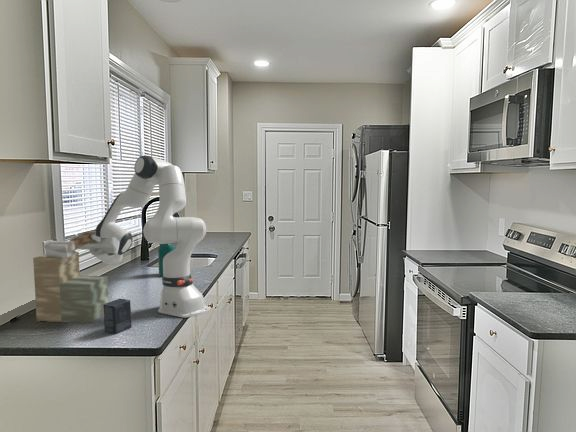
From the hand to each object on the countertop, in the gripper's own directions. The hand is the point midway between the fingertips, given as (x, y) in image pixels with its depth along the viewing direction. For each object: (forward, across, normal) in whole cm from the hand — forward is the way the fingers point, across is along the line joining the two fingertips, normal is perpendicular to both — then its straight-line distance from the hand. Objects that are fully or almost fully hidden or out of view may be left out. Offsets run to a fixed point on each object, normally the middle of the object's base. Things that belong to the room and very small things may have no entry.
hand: (85, 236), depth 182 cm
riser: (-4, 0, +33) cm, 33 cm away
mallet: (+4, -1, +6) cm, 8 cm away
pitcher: (-67, +14, -3) cm, 68 cm away
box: (+7, +26, +40) cm, 48 cm away
